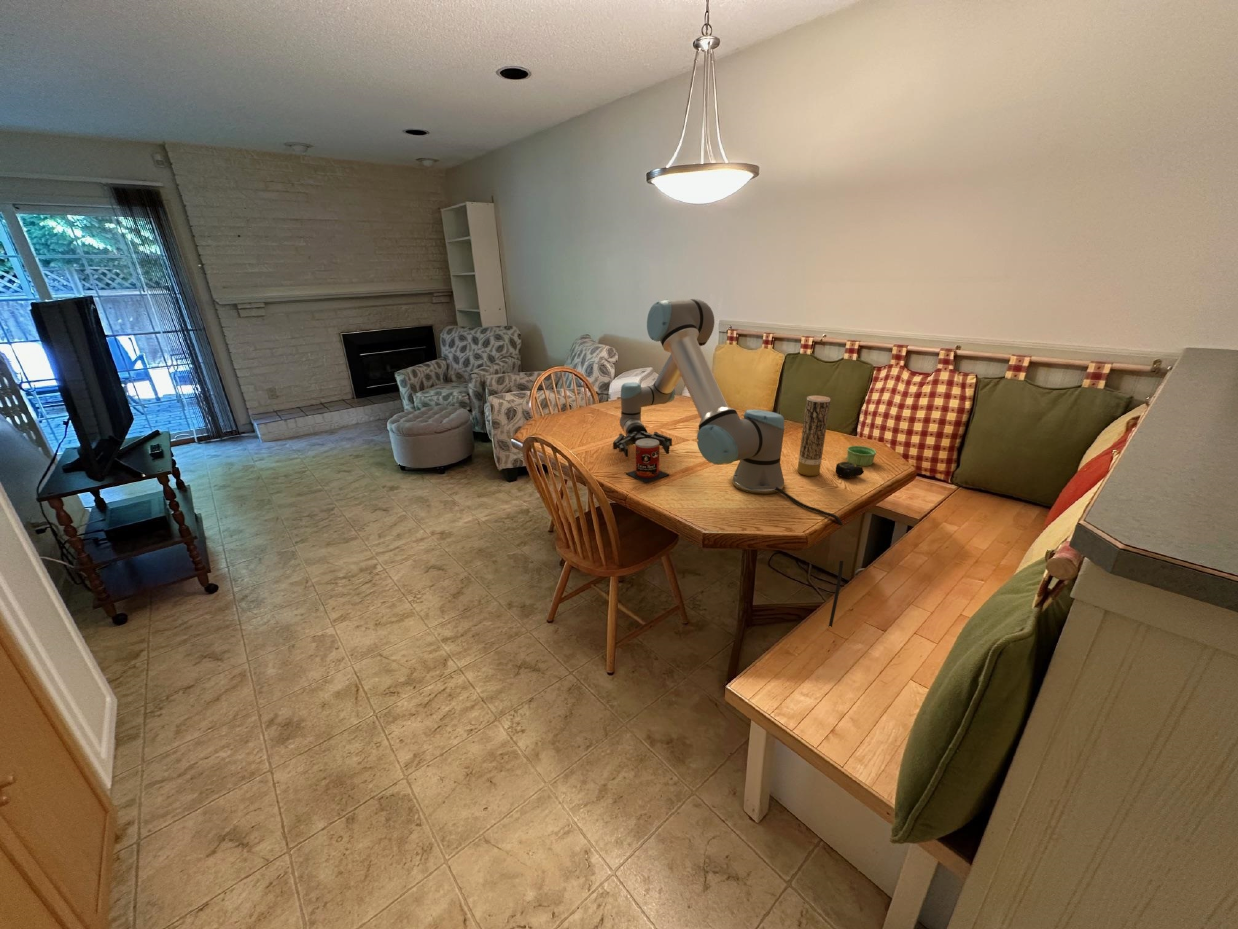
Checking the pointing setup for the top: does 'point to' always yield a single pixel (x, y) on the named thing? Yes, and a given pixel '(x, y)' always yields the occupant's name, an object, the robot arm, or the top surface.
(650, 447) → the canned food
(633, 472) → the coaster
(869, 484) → the top surface
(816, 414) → the paper tube
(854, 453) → the ramekin
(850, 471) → the tape measure
